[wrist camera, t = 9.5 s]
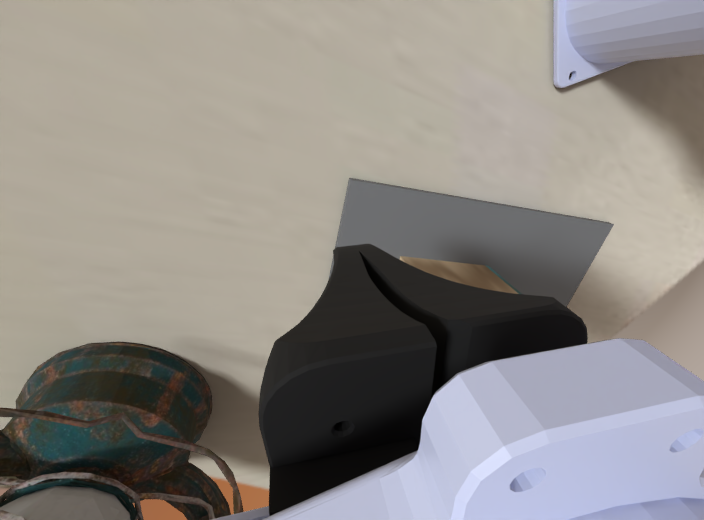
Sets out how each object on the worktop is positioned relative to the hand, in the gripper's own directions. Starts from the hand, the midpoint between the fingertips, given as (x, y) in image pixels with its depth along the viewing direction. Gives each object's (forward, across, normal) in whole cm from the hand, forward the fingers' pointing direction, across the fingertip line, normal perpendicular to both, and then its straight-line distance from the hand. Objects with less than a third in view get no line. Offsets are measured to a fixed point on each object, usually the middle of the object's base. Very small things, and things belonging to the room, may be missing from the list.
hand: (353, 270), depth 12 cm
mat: (+10, -11, +9) cm, 17 cm away
